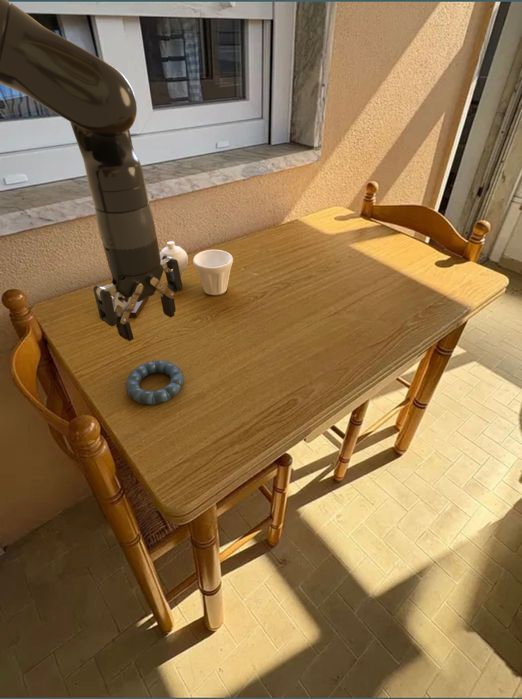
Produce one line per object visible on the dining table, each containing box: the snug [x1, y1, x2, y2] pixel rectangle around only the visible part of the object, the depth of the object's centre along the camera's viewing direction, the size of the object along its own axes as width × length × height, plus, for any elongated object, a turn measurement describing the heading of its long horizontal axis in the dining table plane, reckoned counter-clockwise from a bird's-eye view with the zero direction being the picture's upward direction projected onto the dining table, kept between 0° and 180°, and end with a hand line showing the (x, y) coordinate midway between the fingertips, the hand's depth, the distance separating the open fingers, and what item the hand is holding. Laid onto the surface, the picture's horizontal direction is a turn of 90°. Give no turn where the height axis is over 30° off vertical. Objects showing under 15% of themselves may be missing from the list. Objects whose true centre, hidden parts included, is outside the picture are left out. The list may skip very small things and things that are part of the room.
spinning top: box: [159, 240, 189, 277], centre depth 100 cm, size 8×8×12 cm
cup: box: [192, 249, 234, 297], centre depth 99 cm, size 10×10×9 cm
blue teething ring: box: [125, 360, 185, 406], centre depth 74 cm, size 11×11×2 cm
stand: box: [110, 272, 150, 319], centre depth 91 cm, size 9×9×14 cm
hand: (149, 326), depth 65 cm, fingers open, 8 cm apart
